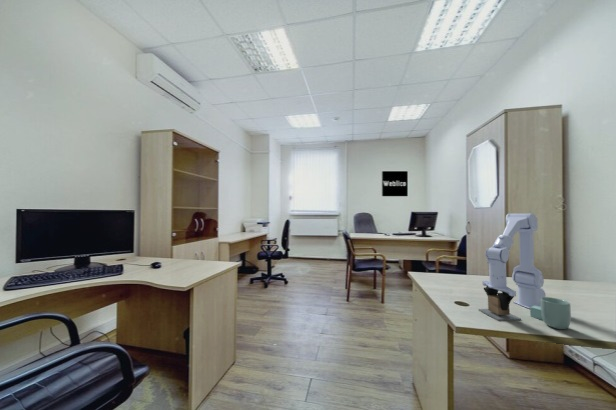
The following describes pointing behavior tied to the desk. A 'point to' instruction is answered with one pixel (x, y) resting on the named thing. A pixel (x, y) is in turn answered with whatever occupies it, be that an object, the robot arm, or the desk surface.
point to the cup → (556, 312)
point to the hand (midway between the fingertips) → (498, 307)
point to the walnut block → (496, 305)
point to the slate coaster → (499, 316)
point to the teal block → (536, 312)
